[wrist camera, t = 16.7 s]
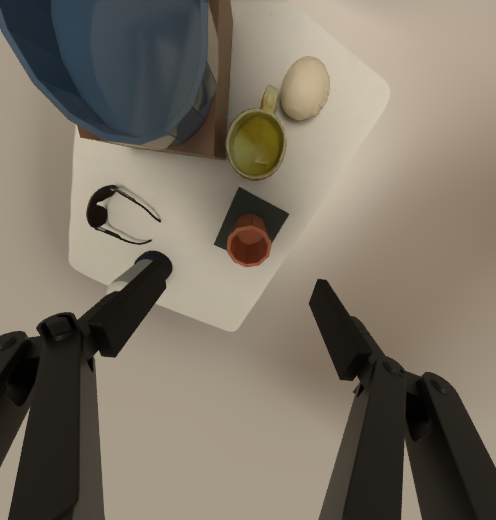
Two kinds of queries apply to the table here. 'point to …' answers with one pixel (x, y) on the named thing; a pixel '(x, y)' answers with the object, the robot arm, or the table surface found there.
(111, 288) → the humidifier
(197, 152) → the riser
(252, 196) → the mat
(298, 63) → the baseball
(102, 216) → the sunglasses
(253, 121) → the mug
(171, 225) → the table surface
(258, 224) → the cup
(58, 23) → the bowl
